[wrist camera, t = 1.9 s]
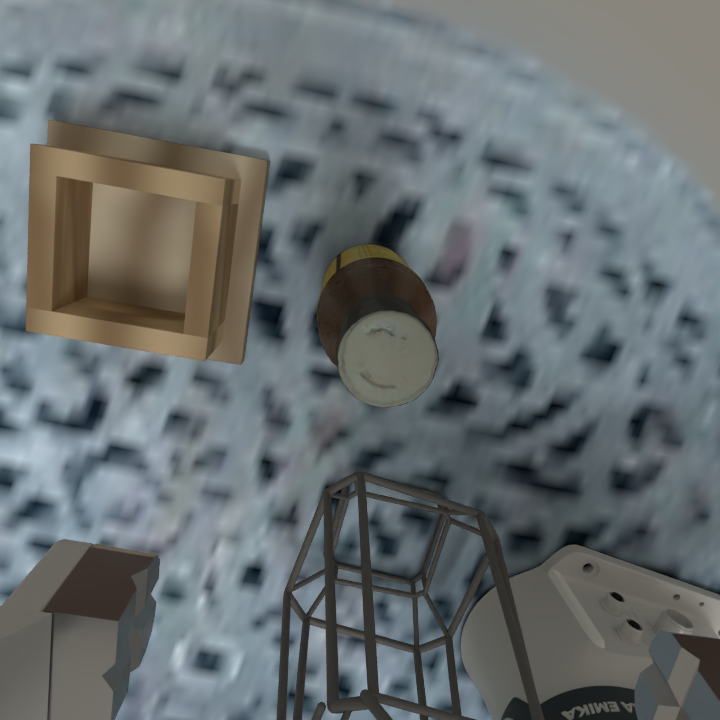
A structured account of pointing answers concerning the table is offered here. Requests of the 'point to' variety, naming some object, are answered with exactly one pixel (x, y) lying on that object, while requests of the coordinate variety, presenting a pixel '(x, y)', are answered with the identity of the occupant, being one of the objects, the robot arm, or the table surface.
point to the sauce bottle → (378, 326)
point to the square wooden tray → (143, 243)
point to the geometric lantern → (372, 695)
